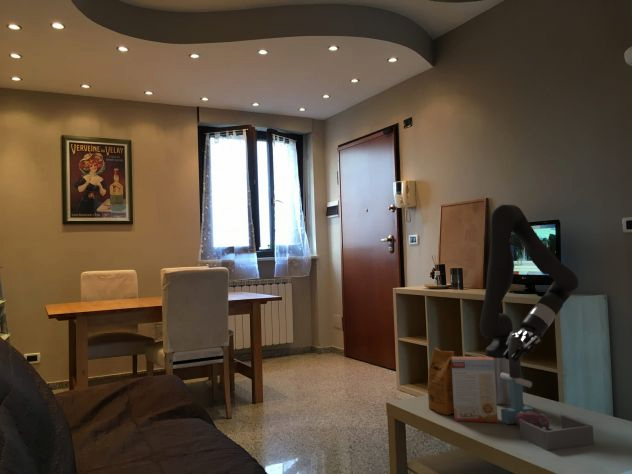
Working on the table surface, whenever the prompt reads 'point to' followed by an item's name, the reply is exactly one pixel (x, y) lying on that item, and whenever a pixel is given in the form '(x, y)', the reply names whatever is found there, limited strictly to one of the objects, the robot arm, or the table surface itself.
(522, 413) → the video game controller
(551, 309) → the robot arm
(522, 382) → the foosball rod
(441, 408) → the coffee package
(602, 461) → the table surface
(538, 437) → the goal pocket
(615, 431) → the table surface
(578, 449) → the table surface
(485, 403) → the cracker box
